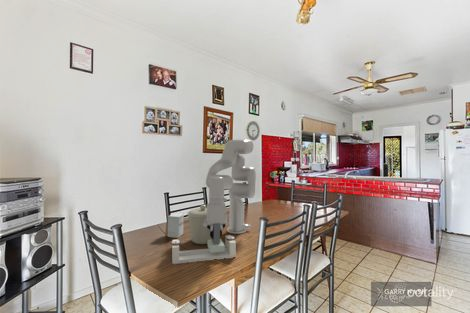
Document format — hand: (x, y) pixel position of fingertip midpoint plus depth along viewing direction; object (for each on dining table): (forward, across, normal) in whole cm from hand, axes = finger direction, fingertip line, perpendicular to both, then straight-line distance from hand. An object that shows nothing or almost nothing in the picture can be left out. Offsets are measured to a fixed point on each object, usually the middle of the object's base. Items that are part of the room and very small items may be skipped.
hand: (215, 237), depth 116 cm
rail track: (+9, +6, 0) cm, 11 cm away
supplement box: (+9, +19, -33) cm, 39 cm away
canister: (+9, +4, -20) cm, 22 cm away
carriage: (+5, 0, 0) cm, 5 cm away
